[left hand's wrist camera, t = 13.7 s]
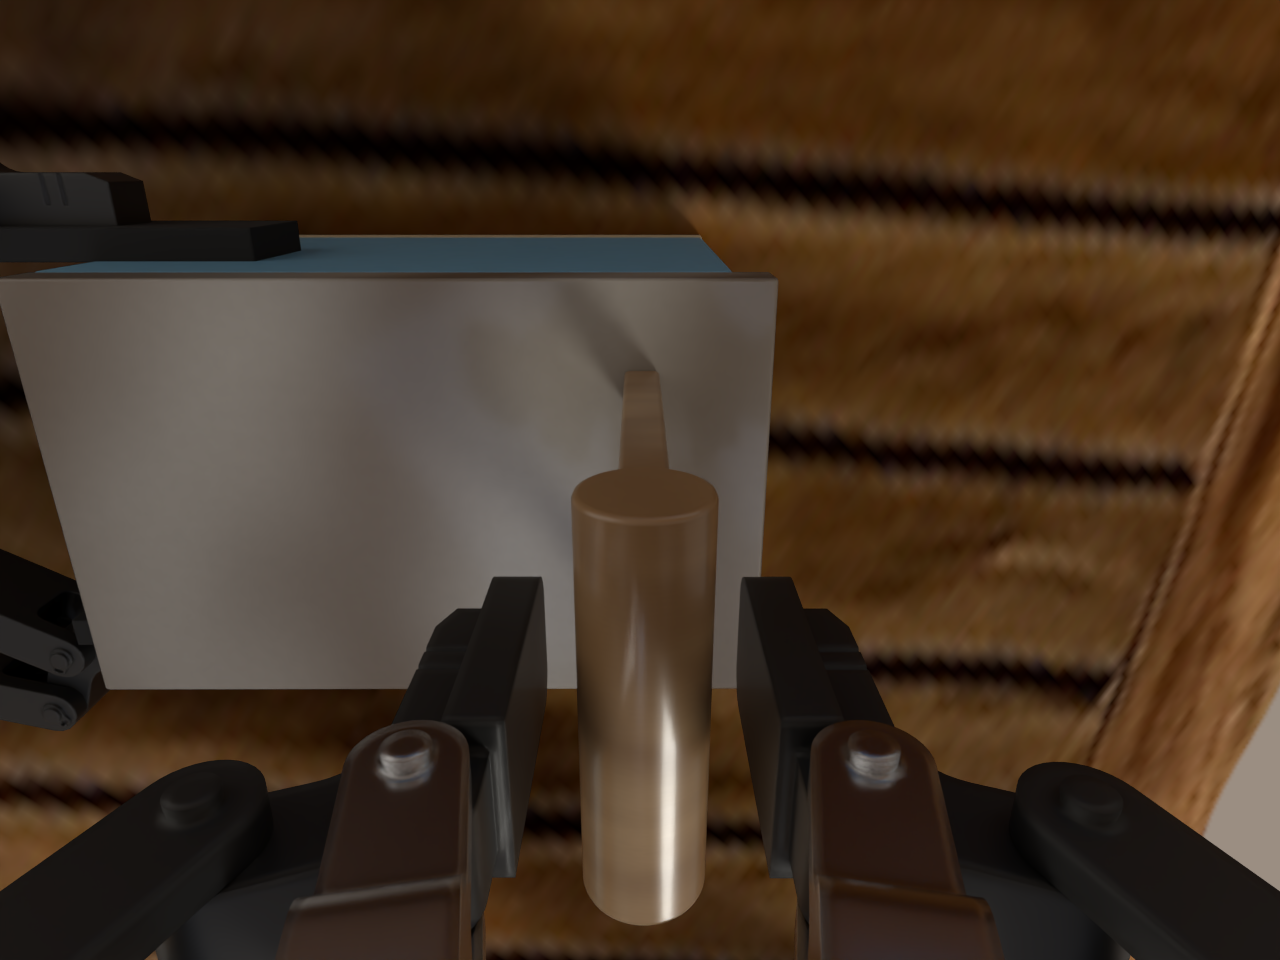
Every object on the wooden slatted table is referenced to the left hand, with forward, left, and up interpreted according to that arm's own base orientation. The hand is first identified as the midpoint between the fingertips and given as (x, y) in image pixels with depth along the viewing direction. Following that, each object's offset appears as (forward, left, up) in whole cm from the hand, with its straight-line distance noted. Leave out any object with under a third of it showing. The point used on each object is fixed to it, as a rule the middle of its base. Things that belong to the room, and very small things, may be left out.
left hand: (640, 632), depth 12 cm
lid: (-1, +5, -6) cm, 8 cm away
